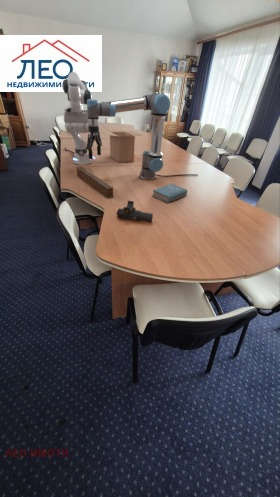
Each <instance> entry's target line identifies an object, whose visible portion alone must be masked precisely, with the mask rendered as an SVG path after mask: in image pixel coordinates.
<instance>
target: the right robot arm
mask: <svg viewBox="0 0 280 497" xmlns="http://www.w3.org/2000/svg"><path fill="white" fill-rule="evenodd" d="M170 108H171V99H170V97H169V96H168V95H167V94H164V93H159V92H154V93H150V94H144V95H142V97H135V98H127V99H118V100H111V101H101V102H99V100H98V99H93V98H92V99H88V100H87V105H86V110H87V114H88V125H89V126H88V130H89V132H90V133H87V140H86V147H87V148H86V149H87V152H88V154H89V160H93V159H94V158H93V157H94V156H93V146H94V142H96V154H97V156H101V155H102V148H101V147H102V146H103V142H102V138H101V132H100V117H106V118H107V117H110V118H112V117H116V114H117V113H125V112H132V111H140V110H144V111H151V114H150V116H151V117H152V125H151V137H150V138H151V139H150V150H143V152H142V159H141V160H142V161H141V169H140V172H139V178H140V179H142V180H146V181H154V180H156V178H157V177H163V178H168V177H180V176H182V177H183V176H199V175H198V174H193V173H192V174H191V173H189V174H187V173H186V174H185V173H184V174H183V173H182V174H171V175H170V174H169V175H161V174H156V173H157V172H160V171H161V170H162V169H163V167H164V160H163V153H162V145H163V144H162V143H163V135H164V126H165V118H167V116H168V112H169V111H170Z"/></svg>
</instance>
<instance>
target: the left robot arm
mask: <svg viewBox="0 0 280 497" xmlns="http://www.w3.org/2000/svg"><path fill="white" fill-rule="evenodd" d="M61 87H62V90H63V92H64V93H65V94H66V95H67V101H68V102H69V106H67V107H65V108H64V109H63V110H64V112H63V122H64V129H65V131H66V132H67V133H69V134H70V135H71V136H72V139H73V142H74V151H73V150H70V149H69V150H68V149H67V148H66V147H64V151H65V152H66V151H67V152H71V153H73V154H72V160H73V161H72V164H75V165H79V166H80V165H81V166H83V165H84V166H85V165H89V164H92V161H91V159H89V152H88V149H86V148H87V139H86V138H84V137H83V136H81V135H80V134H90V132H89V130H88V126H89V125H88V114H87V109H84V105H86V106H87V100H88V99H93V95H92V93H91V91H90V90H89V89H88V84H87V82H86V81H85V80H83V79H80V76H79V74H78V73H77V72H75V71H71V72H70V73H69V74H68V75H67V78H65V79H64V80H63V81H62V84H61ZM93 159H95V157H94V156H93Z"/></svg>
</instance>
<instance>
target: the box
mask: <svg viewBox="0 0 280 497" xmlns="http://www.w3.org/2000/svg"><path fill="white" fill-rule="evenodd" d="M102 132H103V133H105V134H106V135H109V157H110V158H112V159H114V160H115V161H116V162H118V163H125V162H126V163H128V162H134V161H135V145H136V144H135V143H136V142H135V141H136V137H139V136H141V137H142V136H143V135H142V134H140V133H138V132H135V131H133V130H128V131H127V130H126V131H124V130H122V129H107V130H106V131H105V130H102Z"/></svg>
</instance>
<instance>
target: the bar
mask: <svg viewBox="0 0 280 497" xmlns="http://www.w3.org/2000/svg"><path fill="white" fill-rule="evenodd" d="M75 169H76V176H77V177H79V179H81V180H83V181H84V182H85V183H87V184H88V185H89V186H90V187H92V188H93V189H95V190H96V191H97V192H98V193H100V194H101V195H103V196H104V197H105V198H106V199H111V198H114V187H113V186H111V185H110V184H108V183H107V182H105V181H104V180H103V179H101V178H99V177H98V176H96V175H95V174H93V173H92V172H90V171H89V170H88V169H87V168H84V167H83V166H76V167H75Z"/></svg>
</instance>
